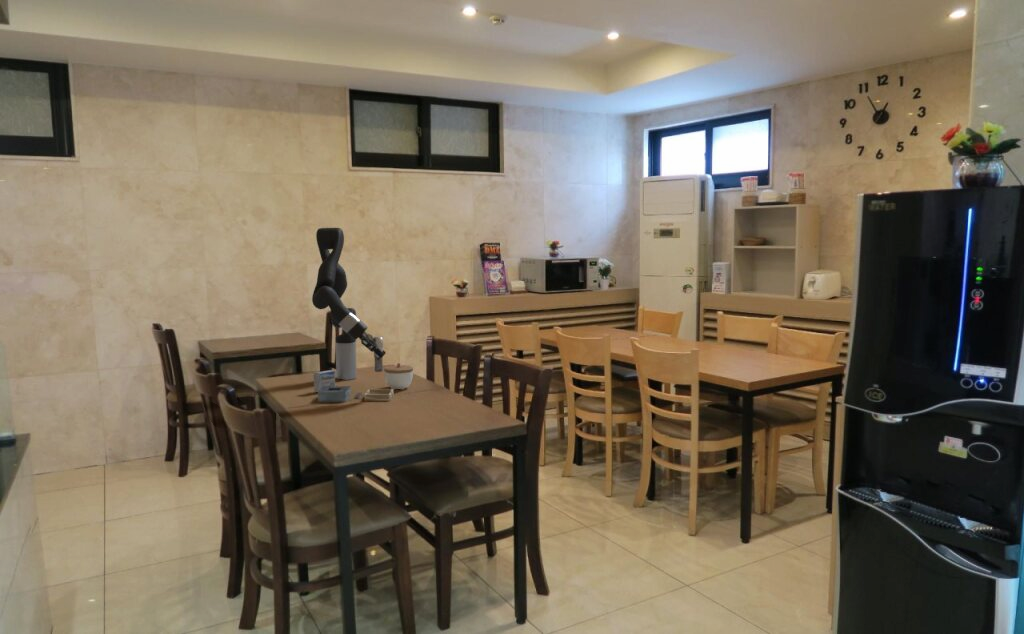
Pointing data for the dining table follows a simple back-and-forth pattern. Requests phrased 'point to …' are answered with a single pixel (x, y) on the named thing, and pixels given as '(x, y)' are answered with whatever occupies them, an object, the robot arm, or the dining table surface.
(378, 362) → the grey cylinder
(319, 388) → the medicine box
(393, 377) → the lidded bowl
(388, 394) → the tray
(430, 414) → the dining table surface
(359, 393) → the bar
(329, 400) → the socket block
